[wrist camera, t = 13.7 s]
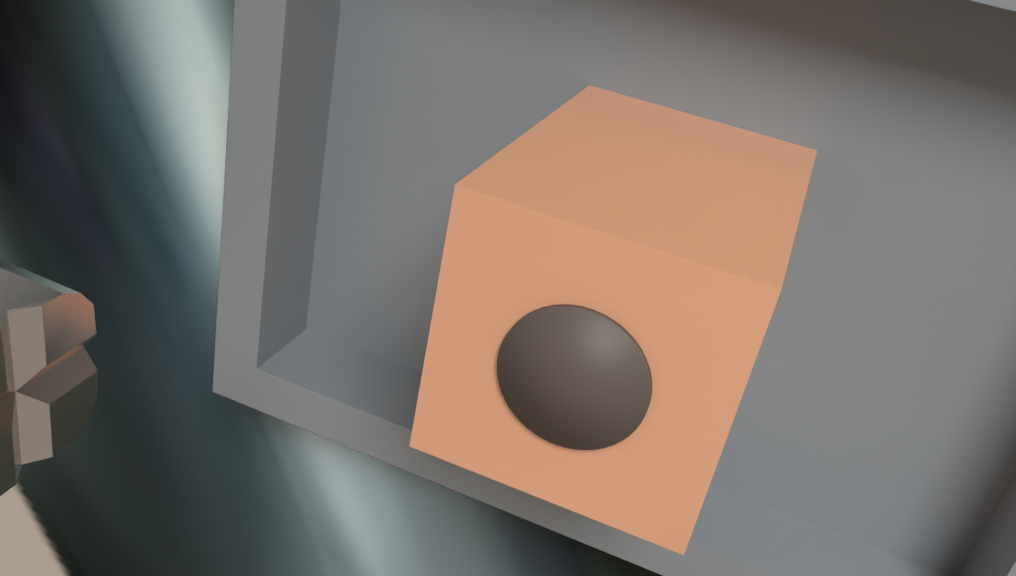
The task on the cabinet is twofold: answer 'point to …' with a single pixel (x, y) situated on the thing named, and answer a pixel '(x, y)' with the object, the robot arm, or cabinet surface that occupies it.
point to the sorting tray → (806, 287)
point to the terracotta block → (608, 307)
